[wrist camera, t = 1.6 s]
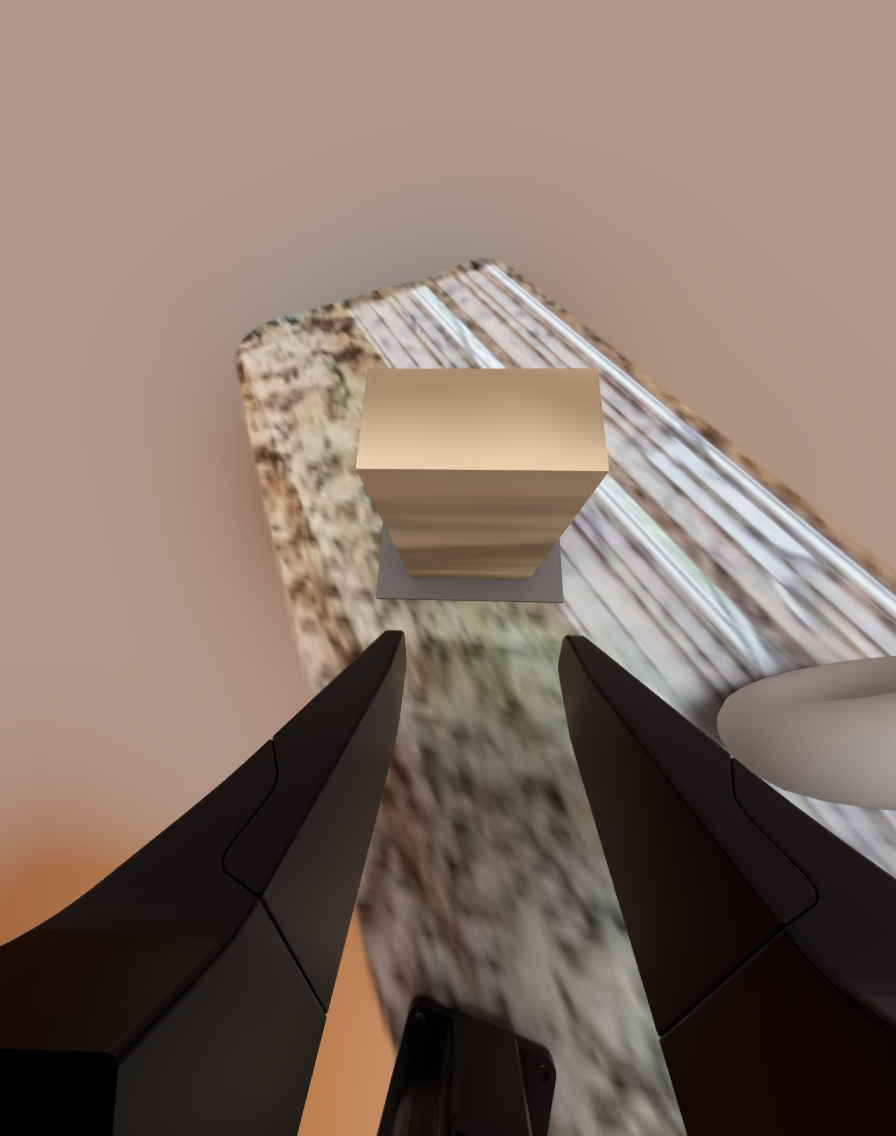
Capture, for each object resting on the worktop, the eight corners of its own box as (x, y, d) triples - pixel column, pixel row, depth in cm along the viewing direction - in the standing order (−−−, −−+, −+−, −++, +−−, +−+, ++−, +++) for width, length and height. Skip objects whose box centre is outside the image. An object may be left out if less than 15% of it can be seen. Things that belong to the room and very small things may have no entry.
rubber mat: (562, 602, 21) (563, 602, 21) (377, 598, 21) (376, 597, 21) (548, 381, 26) (549, 379, 25) (395, 382, 26) (395, 379, 26)
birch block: (527, 580, 21) (609, 470, 10) (411, 578, 22) (356, 468, 10) (526, 526, 22) (597, 368, 11) (414, 524, 23) (367, 369, 11)
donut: (691, 771, 18) (944, 878, 9) (661, 703, 19) (860, 731, 10) (866, 714, 19) (1285, 756, 9) (829, 650, 20) (1173, 629, 10)
